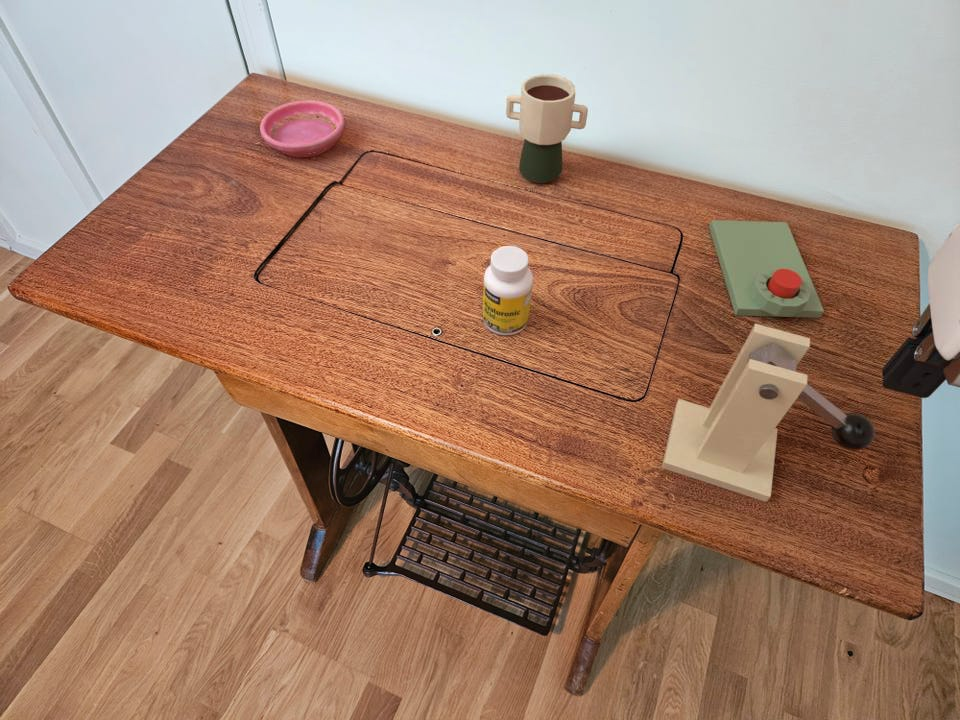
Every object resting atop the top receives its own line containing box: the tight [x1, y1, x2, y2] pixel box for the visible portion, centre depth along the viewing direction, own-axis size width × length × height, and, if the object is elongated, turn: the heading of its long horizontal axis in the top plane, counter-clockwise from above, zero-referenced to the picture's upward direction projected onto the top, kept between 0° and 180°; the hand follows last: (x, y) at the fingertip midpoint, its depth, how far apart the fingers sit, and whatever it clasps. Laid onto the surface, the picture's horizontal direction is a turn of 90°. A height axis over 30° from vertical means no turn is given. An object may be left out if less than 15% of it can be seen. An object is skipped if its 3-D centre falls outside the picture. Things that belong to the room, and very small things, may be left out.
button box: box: [708, 219, 825, 319], centre depth 77 cm, size 17×10×3 cm, turn 178°
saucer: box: [259, 99, 346, 158], centre depth 93 cm, size 12×12×3 cm
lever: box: [748, 342, 876, 451], centre depth 52 cm, size 13×3×3 cm, turn 69°
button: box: [768, 269, 802, 299], centre depth 72 cm, size 3×3×2 cm
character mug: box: [505, 73, 589, 184], centre depth 85 cm, size 11×7×13 cm, turn 75°
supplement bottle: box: [482, 245, 534, 336], centre depth 69 cm, size 5×5×10 cm
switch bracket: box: [661, 323, 811, 503], centre depth 56 cm, size 10×8×16 cm
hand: (903, 384), depth 47 cm, fingers closed
